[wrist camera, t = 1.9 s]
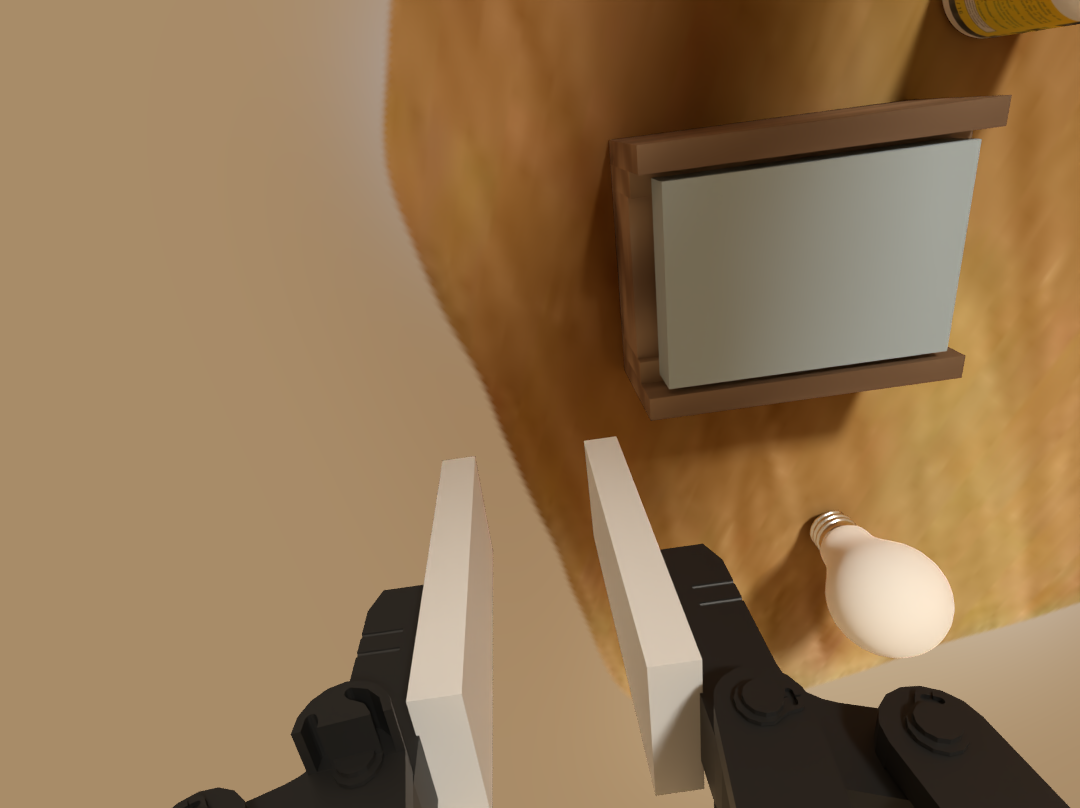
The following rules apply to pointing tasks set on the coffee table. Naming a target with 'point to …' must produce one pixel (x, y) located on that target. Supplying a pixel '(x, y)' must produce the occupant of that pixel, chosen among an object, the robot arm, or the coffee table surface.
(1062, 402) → the coffee table surface
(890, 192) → the cover plate
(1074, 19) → the supplement bottle
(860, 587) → the light bulb
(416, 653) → the robot arm
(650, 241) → the walnut box
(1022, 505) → the coffee table surface
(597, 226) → the coffee table surface
